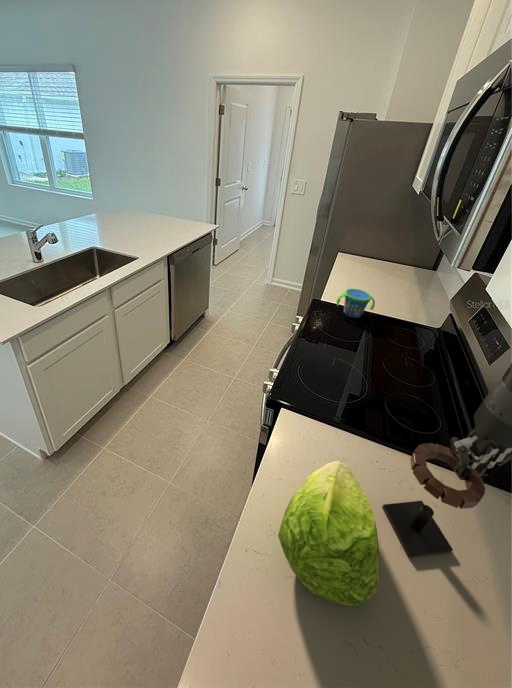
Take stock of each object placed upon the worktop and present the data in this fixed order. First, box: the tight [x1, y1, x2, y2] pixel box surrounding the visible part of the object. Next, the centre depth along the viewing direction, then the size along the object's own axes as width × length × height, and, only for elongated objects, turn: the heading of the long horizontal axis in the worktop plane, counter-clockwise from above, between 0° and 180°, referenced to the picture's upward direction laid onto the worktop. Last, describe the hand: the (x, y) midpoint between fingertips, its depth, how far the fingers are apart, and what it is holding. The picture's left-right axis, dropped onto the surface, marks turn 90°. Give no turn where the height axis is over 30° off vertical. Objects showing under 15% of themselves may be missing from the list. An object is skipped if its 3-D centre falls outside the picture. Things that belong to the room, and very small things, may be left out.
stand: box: [381, 500, 454, 558], centre depth 61 cm, size 9×9×7 cm
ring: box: [409, 442, 486, 510], centre depth 56 cm, size 11×11×2 cm
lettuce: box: [277, 460, 380, 608], centre depth 58 cm, size 17×24×14 cm
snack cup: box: [336, 288, 376, 319], centre depth 134 cm, size 16×10×10 cm
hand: (465, 474), depth 57 cm, fingers closed on ring, 2 cm apart
